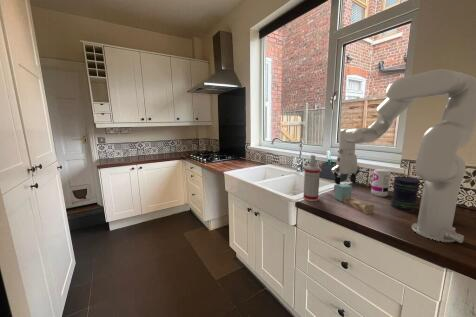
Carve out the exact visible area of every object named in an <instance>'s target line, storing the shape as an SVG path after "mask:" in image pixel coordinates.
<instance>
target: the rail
mask: <svg viewBox="0 0 476 317" xmlns="http://www.w3.org/2000/svg"><path fill="white" fill-rule="evenodd" d="M333 186H334V187H333V195H332V196H333V199H335V189H336V184H334V185H333ZM342 202H343V203H345V204H346V205H348V206H351V207H353V208H354V209H356V210H358V211H360V212H362V213H364V214H365V215H371V214H374V211H375V205H374V204H368V205H367V204H364V203H362V202H360V201H358V200H356V199H353V198H352V197H351V198H350V197H343V201H342Z"/></svg>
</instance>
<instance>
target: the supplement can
mask: <svg viewBox="0 0 476 317" xmlns="http://www.w3.org/2000/svg"><path fill="white" fill-rule="evenodd" d="M390 179H391V171H390V170H389V169H386V168H375V169H374V170H373V173H372V181H371V182H372V183H371V188H370V189H371V191H370V192H371V194H372V195H374V196H376V197H387V196H388V195H389V187H390V181H391V180H390Z"/></svg>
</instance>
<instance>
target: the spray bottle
mask: <svg viewBox="0 0 476 317" xmlns="http://www.w3.org/2000/svg"><path fill="white" fill-rule="evenodd" d="M320 172H321V167H319V166H318V165H317V161H316V155H314V154H310V160H309V164H308V165H306V166H304V178H303V179H304V180H303V182H304V183H303V197H302V198H303V200H305V201H308V202H318V200H319V193H320V192H319V189H320V175H321V173H320Z"/></svg>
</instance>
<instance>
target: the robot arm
mask: <svg viewBox="0 0 476 317" xmlns="http://www.w3.org/2000/svg"><path fill="white" fill-rule="evenodd" d="M385 96H386V98H385V99H384V100H383V101H382V102H381V103H380V104H379V105H378V106H377V108H376V113H377V115H378V117H377V118H376V119H375V121H374V122H373V123H372V124H371V125H369V126H368V127H358V128H356V127H355V128H341V129H340V131H339V143H338V145H339V146H338V150H337V153H338V154H337V158H336V163H335V166H334V167H332V168H331V173H332V175H334V183H335V185H336V184H338V185H340V184H341V175H347V174H350V175H349V176H350V178H349V179H350V180H349V181H350V183H353V184H356V181H357V176H358V173H359V172H360V170H361V166H359V165H358V158H357V154H356V145H357V144H360V145H361V144H367V143H368V144H369V143H373V142H375V141H376V140H378V139H380V138H381V137H382V136H383V135H384V134H385V133H386V132H388V130H389V129H390V128H391V126H392V124H393V123H394V120H395V119H397V117H399V116H400V115H401V114H402V113H403V112H404V111H406V109H408V108H409V107H410V106H412V104H413V103H414V102H416V101H417V100H418V99H420V98H425V97H426V98H427V97H438V98H439V97H440V98H447V102H446V105H445V106H444V109H443V111H442V116H441V119H440V122H439V123H437V124H434V125H432V126H430V127H428V129H426V131H425V132H424V134H423V135H422V138H421V141H420V143H419V144H420V145H419V148H418V153H417V154H416V156H417V157H416V160H415V166H414V168H415V169H414V170H415V173H416V174H417V176H418V177H419V178H420V179H421V180H422V181H423V180H424V182H423V185H422V191H421V192H422V193H421V197H420V203H419V204H420V205H419V210H418V216H417V217H418V218H417V222H415V223H412V224H411V227H410V228H411V231H413V232H414V233H415V232H416V233H415V234H417V235H419V236H422V237H423V238H426V239H428V238H429V239H428V240H432V239H433V240H432V241H435V240H436V242H440V241H441V242H442V243H453V242H458V243H460V244H462V243H464V238H465V235H463V234H460V233H457V232H456V227H454V226H453V224H454V218H455V214H456V208H457V203H458V198H459V193H460V188H461V184H462V182H463V180H464V176H465V174H466V168H467V167H466V163H465V161H464V160H463V158H462V157H461V156H460V155H458V154H457V152H458V150H460V149H463V148H465V147H466V146H468V145H469V144H470V142H471V140H472V138H473V135H474V130H475V128H476V77H474V76H472V75H470V74H467V73H464V72H460V71H456V70H450V69H445V68H439V69H432V70H429V71H425V72H421V73H417V74H416V73H415V74H412V75H407V76H404V77H400V78H397V79H395V80H393V81H392V82H391V83H390V84H388V86H387V88H386V90H385Z"/></svg>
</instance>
